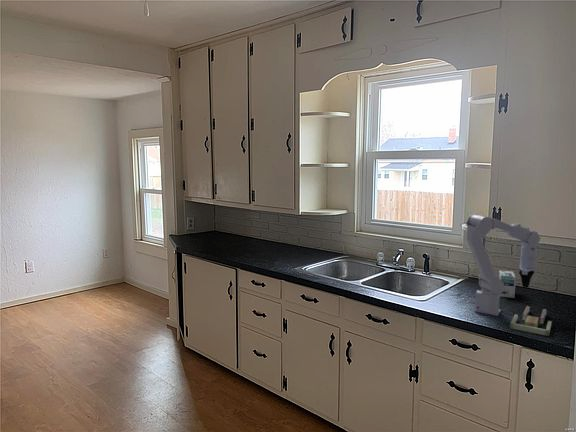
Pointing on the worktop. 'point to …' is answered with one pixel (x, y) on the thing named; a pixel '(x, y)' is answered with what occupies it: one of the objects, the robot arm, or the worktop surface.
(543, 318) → the slot rails
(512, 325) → the tray
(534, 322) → the tan wooden block
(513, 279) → the light bulb box
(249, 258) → the worktop surface
